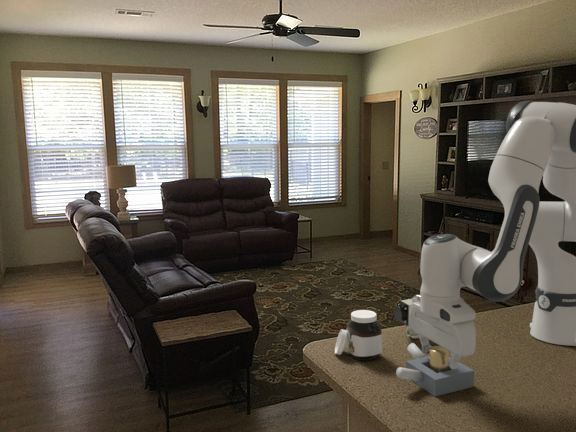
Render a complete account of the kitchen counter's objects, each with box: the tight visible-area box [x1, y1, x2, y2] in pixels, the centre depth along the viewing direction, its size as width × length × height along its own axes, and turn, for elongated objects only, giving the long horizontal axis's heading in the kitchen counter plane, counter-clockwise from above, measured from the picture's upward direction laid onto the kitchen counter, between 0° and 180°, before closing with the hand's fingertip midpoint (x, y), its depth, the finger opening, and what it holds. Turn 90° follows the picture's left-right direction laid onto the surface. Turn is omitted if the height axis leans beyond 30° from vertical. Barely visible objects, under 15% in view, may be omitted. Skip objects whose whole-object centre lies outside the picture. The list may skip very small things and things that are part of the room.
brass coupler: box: [429, 345, 450, 373], centre depth 120 cm, size 4×4×8 cm
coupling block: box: [395, 342, 475, 397], centre depth 122 cm, size 17×17×6 cm
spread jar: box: [334, 309, 383, 361], centre depth 136 cm, size 12×11×12 cm
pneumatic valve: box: [394, 298, 419, 340], centre depth 148 cm, size 6×12×12 cm, turn 106°
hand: (439, 360), depth 120 cm, fingers open, 8 cm apart
